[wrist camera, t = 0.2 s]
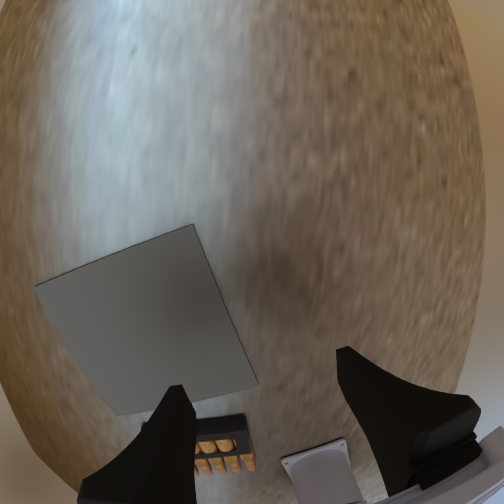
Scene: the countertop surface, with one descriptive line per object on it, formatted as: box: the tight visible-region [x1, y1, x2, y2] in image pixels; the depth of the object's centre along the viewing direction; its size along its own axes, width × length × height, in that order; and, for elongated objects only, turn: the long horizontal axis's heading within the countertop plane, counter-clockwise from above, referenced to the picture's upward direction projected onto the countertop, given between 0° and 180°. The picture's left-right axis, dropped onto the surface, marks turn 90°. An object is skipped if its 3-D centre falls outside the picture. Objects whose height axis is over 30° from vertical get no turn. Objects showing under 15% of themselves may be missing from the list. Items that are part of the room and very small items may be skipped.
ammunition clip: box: [141, 416, 255, 477], centre depth 27 cm, size 11×2×12 cm
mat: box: [34, 224, 259, 416], centre depth 22 cm, size 15×15×1 cm
